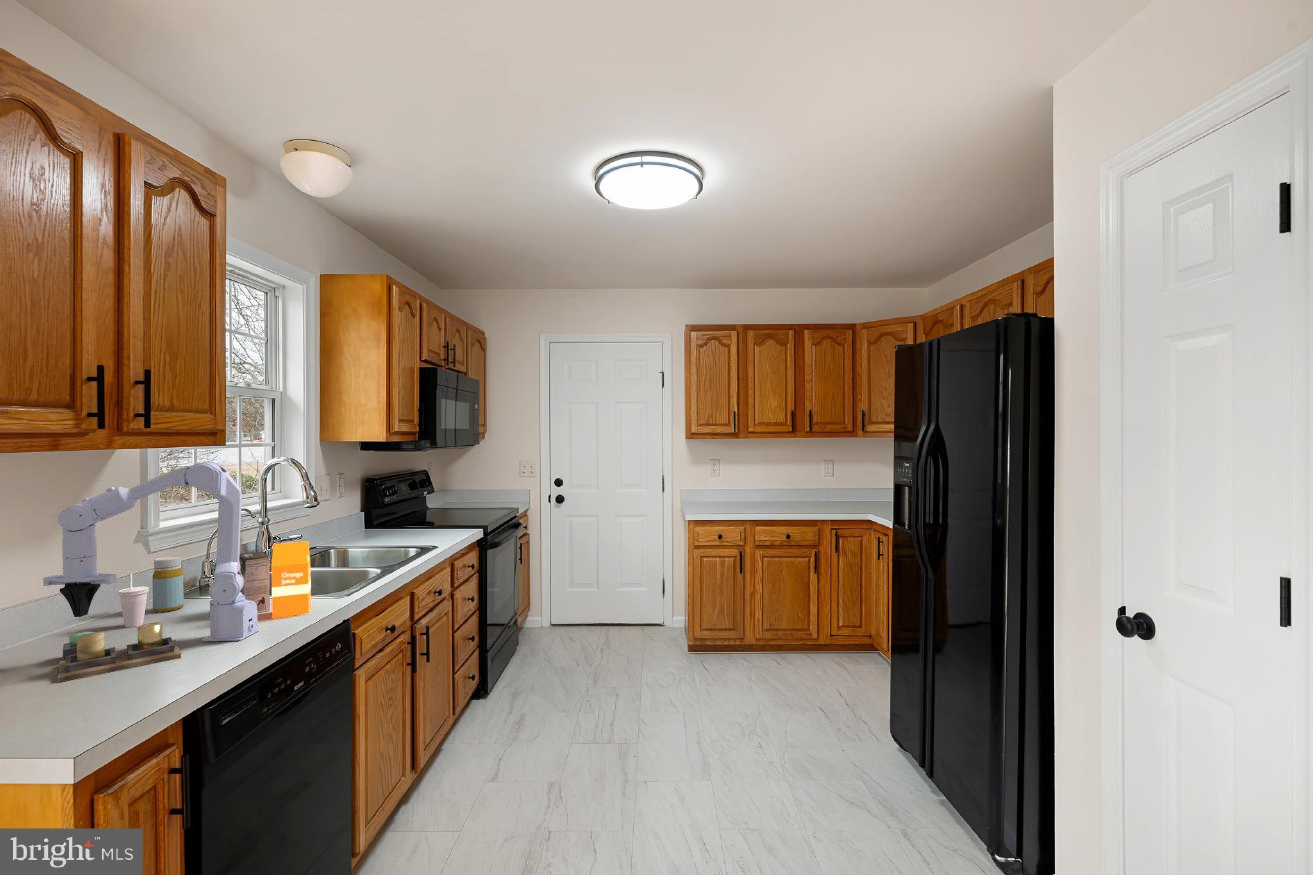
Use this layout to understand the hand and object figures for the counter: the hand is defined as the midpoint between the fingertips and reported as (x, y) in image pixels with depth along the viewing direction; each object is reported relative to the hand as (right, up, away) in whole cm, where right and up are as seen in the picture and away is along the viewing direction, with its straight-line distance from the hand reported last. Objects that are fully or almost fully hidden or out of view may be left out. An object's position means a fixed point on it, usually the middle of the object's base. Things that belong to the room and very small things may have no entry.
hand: (81, 615), depth 141 cm
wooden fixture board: (+12, -9, -3) cm, 16 cm away
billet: (+16, -8, 0) cm, 18 cm away
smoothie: (-8, -10, +24) cm, 27 cm away
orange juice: (+29, -9, +33) cm, 45 cm away
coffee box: (+15, -9, +37) cm, 41 cm away
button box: (0, -9, 0) cm, 9 cm away
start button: (0, -6, 0) cm, 6 cm away
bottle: (-11, -10, +39) cm, 41 cm away
